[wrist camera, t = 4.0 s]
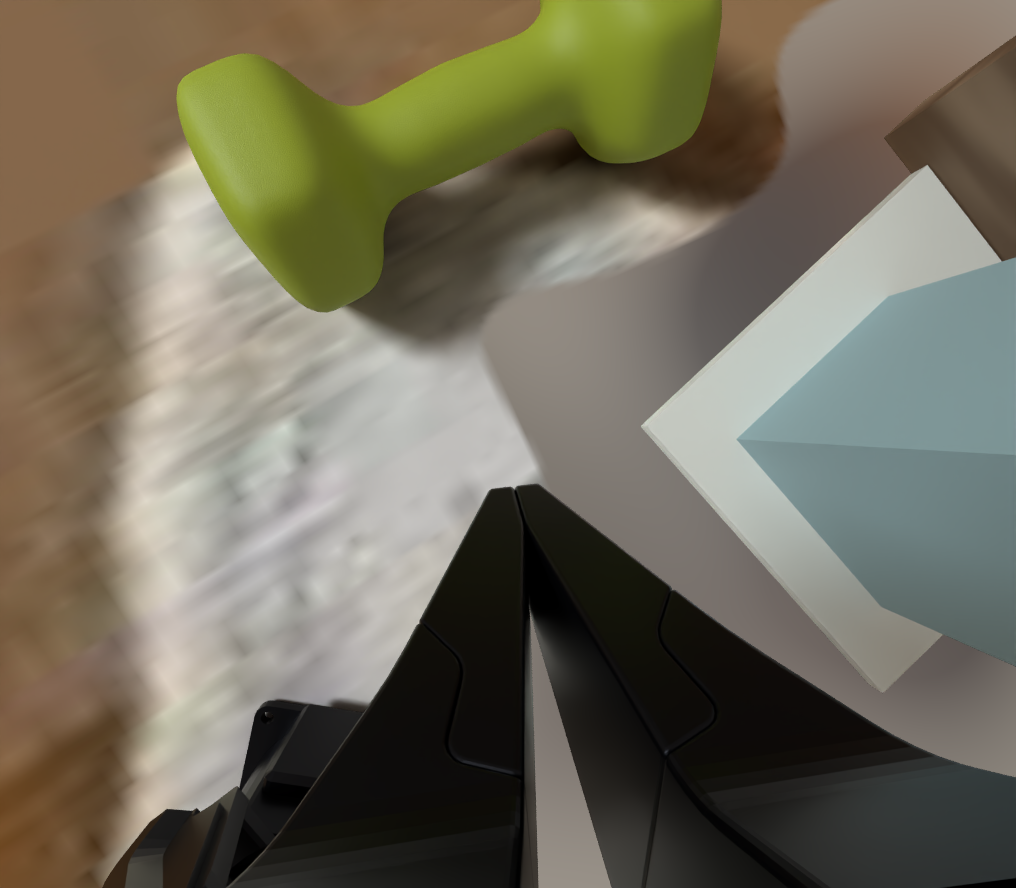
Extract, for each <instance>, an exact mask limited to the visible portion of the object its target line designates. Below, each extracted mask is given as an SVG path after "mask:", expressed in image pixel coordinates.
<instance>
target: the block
mask: <svg viewBox="0 0 1016 888" xmlns="http://www.w3.org/2000/svg"><path fill="white" fill-rule="evenodd" d="M736 440H737V441H738V442H739V443H740V444H741V445H742V446H743V448H744V449H745V450H746V451H747V452H748V453H749V455H750V456H751V457H752V458H753V459H754V460H755V461H756V463H757V464H758V465H759V466H760V467H761V468H762V470H763V471H764V472H765V473H766V474H767V475H768V477H769V478H770V479H771V480H772V481H773V482H774V483H775V485H776V486H777V487H778V488H779V489H780V490H781V492H782V493H783V494H784V495H785V496H786V497H787V498H788V500H789V501H790V502H791V503H792V504H793V505H794V507H795V508H796V509H797V510H798V511H799V512H800V514H801V515H802V516H803V517H804V518H805V519H806V520H807V522H808V523H809V524H810V525H811V526H812V527H813V529H814V530H815V531H816V532H817V533H818V534H819V536H820V537H821V538H822V539H823V540H824V541H825V542H826V544H827V545H828V546H829V547H830V548H831V549H832V551H833V552H834V553H835V554H836V555H837V556H838V557H839V559H840V560H841V561H842V562H843V563H844V564H845V566H846V567H847V568H848V569H849V570H850V571H851V573H852V574H853V575H854V576H855V577H856V578H857V579H858V581H859V582H860V583H861V584H862V585H863V586H864V588H865V589H866V590H867V591H868V592H869V593H870V594H871V596H872V597H873V598H874V599H875V600H876V601H877V603H878V604H879V605H880V606H881V607H882V608H885V609H887V610H889V611H891V612H894V613H896V614H898V615H900V616H903V617H905V618H907V619H909V620H912V621H914V622H916V623H919V624H921V625H923V626H925V627H928V628H930V629H932V630H934V631H937V632H939V633H941V634H943V635H946V636H948V637H950V638H952V639H955V640H957V641H959V642H961V643H964V644H966V645H968V646H970V647H973V648H975V649H977V650H979V651H982V652H984V653H986V654H988V655H991V656H993V657H995V658H998V659H1000V660H1002V661H1005V662H1007V663H1009V664H1011V665H1013V666H1016V257H1015V258H1012V259H1009V260H1006V261H1002V262H999V263H996V264H992V265H989V266H986V267H983V268H979V269H976V270H973V271H969V272H966V273H963V274H960V275H956V276H953V277H950V278H947V279H943V280H940V281H937V282H933V283H930V284H927V285H924V286H920V287H917V288H914V289H910V290H907V291H904V292H901V293H897V294H894V295H891V296H888V297H887V298H886V299H885V300H884V301H883V302H882V303H880V304H879V305H878V306H877V307H876V308H875V309H874V310H873V311H872V312H871V313H870V314H869V315H868V316H867V317H866V318H865V319H863V320H862V321H861V322H860V323H859V324H858V325H857V326H856V327H855V328H854V329H853V330H852V331H851V332H850V333H849V334H848V335H846V336H845V337H844V338H843V339H842V340H841V341H840V342H839V343H838V344H837V345H836V346H835V347H834V348H833V349H832V350H831V351H829V352H828V353H827V354H826V355H825V356H824V357H823V358H822V359H821V360H820V361H819V362H818V363H817V364H816V365H815V366H814V367H812V368H811V369H810V370H809V371H808V372H807V373H806V374H805V375H804V376H803V377H802V378H801V379H800V380H799V381H798V382H797V383H795V384H794V385H793V386H792V387H791V388H790V389H789V390H788V391H787V392H786V393H785V394H784V395H783V396H782V397H781V398H780V399H778V400H777V401H776V402H775V403H774V404H773V405H772V406H771V407H770V408H769V409H768V410H767V411H766V412H765V413H764V414H763V415H761V416H760V417H759V418H758V419H757V420H756V421H755V422H754V423H753V424H752V425H751V426H750V427H749V428H748V429H747V430H746V431H744V432H743V433H742V434H741V435H740V436H739V437H738V438H737V439H736Z"/></svg>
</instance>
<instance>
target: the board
mask: <svg viewBox="0 0 1016 888" xmlns="http://www.w3.org/2000/svg"><path fill="white" fill-rule="evenodd" d="M884 139H885V140H886V141H887V143H888V144H889V145H890V146H891V147H892V149H893V150H894V152H895V153H896V154H897V155H898V157H899V158H900V159H901V161H902V162H903V163H904V165H905V166H906V167H907V168H908V170H909V171H910V172H911V174H912V173H914V172H916V171H918V170H919V169H921V168H923V167H925V166H927V165H928V166H929V168H930V169H931V170H932V172H933V173H934V174H935V176H936V177H937V178H938V179H939V181H940V182H941V183H942V185H943V186H944V187H945V189H946V190H947V191H948V192H949V194H950V195H951V196H952V198H953V199H954V200H955V201H956V203H957V204H958V205H959V207H960V208H961V209H962V211H963V212H964V213H965V214H966V216H967V217H968V218H969V220H970V221H971V222H972V224H973V225H974V226H975V227H976V229H977V230H978V231H979V233H980V234H981V235H982V236H983V238H984V239H985V240H986V242H987V243H988V244H989V246H990V247H991V248H992V249H993V251H994V252H995V253H996V255H997V256H998V257H999V259H1000V260H1001V261H1006V260H1009V259H1012V258H1015V257H1016V36H1015V37H1013V38H1012V39H1010V40H1009V41H1008V42H1006V43H1005V44H1003V45H1002V46H1000V47H999V48H998V49H996V50H995V51H994V52H992V53H991V54H989V55H988V56H987V57H985V58H984V59H982V60H981V61H979V62H978V63H977V64H975V65H974V66H972V67H971V68H970V69H968V70H967V71H965V72H964V73H962V74H961V75H960V76H958V77H957V78H956V79H954V80H953V81H951V82H950V83H948V84H947V85H946V86H944V87H943V88H941V89H940V90H939V91H937V92H936V93H934V94H933V95H932V96H930V97H929V98H927V99H926V100H925V101H923V102H922V103H921V104H920V105H919V106H918V107H917V108H916V109H915V110H914V111H913V112H911V113H910V114H909V115H908V116H907V117H906V118H905V119H904V120H903V121H902V122H901V123H900V124H899V125H897V126H896V127H895V128H894V129H893V130H892V131H891V132H890V133H889V134H888V135H887V136H886V137H885V138H884Z"/></svg>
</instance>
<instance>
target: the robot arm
mask: <svg viewBox="0 0 1016 888" xmlns="http://www.w3.org/2000/svg"><path fill="white" fill-rule="evenodd" d="M529 608H530V609H529ZM530 613H531V617H532V621H533V625H534V629H535V632H536V635H537V639H538V642H539V645H540V649H541V652H542V655H543V659H544V662H545V666H546V669H547V672H548V676H549V679H550V682H551V685H552V689H553V692H554V696H555V699H556V702H557V706H558V709H559V712H560V716H561V719H562V723H563V726H564V729H565V732H566V736H567V739H568V743H569V746H570V749H571V753H572V756H573V760H574V763H575V766H576V770H577V773H578V776H579V780H580V783H581V786H582V790H583V793H584V796H585V800H586V803H587V807H588V810H589V813H590V817H591V820H592V823H593V827H594V830H595V833H596V837H597V840H598V843H599V847H600V850H601V853H602V857H603V860H604V863H605V867H606V870H607V874H608V877H609V880H610V884H611V887H612V888H1016V777H1012V776H1007V775H1003V774H999V773H995V772H991V771H986V770H982V769H978V768H974V767H971V766H966V765H963V764H960V763H957V762H954V761H951V760H948V759H945V758H942V757H939V756H936V755H934V754H932V753H930V752H927V751H925V750H923V749H920V748H918V747H916V746H914V745H912V744H910V743H908V742H906V741H904V740H902V739H900V738H898V737H896V736H894V735H892V734H891V733H889V732H887V731H886V730H884V729H882V728H881V727H879V726H877V725H876V724H874V723H872V722H871V721H869V720H868V719H866V718H864V717H863V716H861V715H860V714H858V713H856V712H855V711H853V710H852V709H850V708H849V707H847V706H846V705H844V704H843V703H841V702H839V701H838V700H836V699H835V698H833V697H831V696H830V695H828V694H827V693H825V692H824V691H822V690H821V689H819V688H817V687H816V686H814V685H813V684H811V683H810V682H808V681H807V680H805V679H803V678H802V677H800V676H799V675H797V674H795V673H794V672H792V671H791V670H789V669H788V668H786V667H785V666H783V665H781V664H780V663H778V662H777V661H775V660H774V659H772V658H771V657H769V656H767V655H766V654H764V653H763V652H761V651H760V650H758V649H757V648H755V647H754V646H752V645H751V644H749V643H748V642H746V641H745V640H743V639H742V638H740V637H739V636H737V635H736V634H734V633H733V632H731V631H730V630H728V629H727V628H726V627H724V626H723V625H721V624H720V623H718V622H717V621H716V620H715V619H713V618H712V617H711V616H709V615H708V614H707V613H705V612H704V611H702V610H701V609H700V608H698V607H697V606H696V605H694V604H693V603H692V602H690V601H689V600H688V599H687V598H685V597H684V596H682V595H681V594H680V593H679V592H678V591H676V590H672V588H671V586H669V585H668V584H667V583H666V582H664V581H663V580H662V579H660V578H659V577H658V576H657V575H655V574H654V573H653V572H651V571H650V570H649V569H648V568H646V567H645V566H644V565H642V564H641V563H640V562H638V561H637V560H636V559H635V558H633V557H632V556H631V555H629V554H628V553H627V552H626V551H624V550H623V549H622V548H621V547H619V546H618V545H617V544H615V543H614V542H613V541H612V540H610V539H609V538H608V537H606V536H605V535H604V534H603V533H601V532H600V531H599V530H597V529H596V528H595V527H593V526H592V525H591V524H590V523H588V522H587V521H586V520H585V519H583V518H582V517H581V516H579V515H578V514H577V513H576V512H574V511H573V510H572V509H570V508H569V507H568V506H566V505H565V504H564V503H563V502H561V501H560V500H559V499H558V498H556V497H555V496H554V495H552V494H551V493H550V492H549V491H547V490H546V489H545V488H543V487H542V486H541V485H539V484H529V485H521V486H517V487H516V488H515V490H514V489H513V488H512V487H503V488H495V489H491V490H489V492H488V493H487V495H486V497H485V499H484V501H483V503H482V505H481V507H480V508H479V510H478V512H477V514H476V516H475V518H474V520H473V521H472V523H471V525H470V527H469V529H468V531H467V533H466V535H465V536H464V538H463V540H462V542H461V544H460V546H459V548H458V550H457V551H456V553H455V555H454V557H453V559H452V561H451V563H450V564H449V566H448V568H447V570H446V572H445V574H444V576H443V578H442V579H441V581H440V583H439V585H438V587H437V589H436V591H435V593H434V594H433V596H432V598H431V600H430V602H429V604H428V606H427V608H426V609H425V611H424V613H423V615H422V617H421V619H420V621H419V623H420V624H418V625H417V626H416V628H415V629H414V631H413V633H412V635H411V637H410V639H409V641H408V643H407V645H406V646H405V648H404V650H403V651H402V653H401V655H400V657H399V658H398V660H397V662H396V664H395V665H394V667H393V669H392V670H391V672H390V674H389V676H388V677H387V679H386V680H385V682H384V683H383V685H382V686H381V688H380V689H379V691H378V692H377V694H376V695H375V697H374V698H373V700H372V701H371V703H370V704H369V706H368V707H367V709H366V710H365V712H364V713H360V712H354V711H348V710H342V709H336V708H330V707H324V706H318V705H312V704H311V705H308V706H303V705H297V704H291V703H285V702H279V701H267V702H265V703H263V704H262V705H261V706H260V708H259V709H258V710H257V712H256V714H255V717H254V722H253V726H252V731H251V736H250V740H249V745H248V750H247V755H246V759H245V764H244V769H243V774H242V778H241V783H240V788H239V787H238V786H237V787H235V788H233V789H232V790H231V791H229V792H228V793H227V794H225V795H224V796H223V797H221V798H220V799H219V800H218V801H216V802H215V803H214V804H212V805H211V806H209V807H208V808H206V809H204V810H203V811H201V812H200V811H199V810H198V809H197V808H196V809H195V810H193V811H186V810H173V809H166V810H165V811H164V812H163V813H161V814H160V815H159V816H157V817H156V818H155V819H153V820H152V821H151V822H150V823H149V824H148V825H147V826H146V828H145V829H144V830H143V831H142V833H141V834H140V835H139V836H138V838H137V839H136V840H135V841H134V843H133V844H132V845H131V846H130V847H129V849H128V850H127V851H126V852H125V854H124V855H123V856H122V858H121V859H120V860H119V862H118V863H117V864H116V866H115V867H114V869H113V870H112V871H111V873H110V874H109V876H108V878H107V879H106V881H105V883H104V885H103V888H538V859H537V825H536V792H535V760H534V759H535V758H534V727H533V726H534V725H533V690H532V659H531V658H532V656H531V627H530ZM265 712H270V713H272V714H273V716H274V718H268V717H266V715H265Z"/></svg>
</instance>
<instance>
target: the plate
mask: <svg viewBox="0 0 1016 888" xmlns="http://www.w3.org/2000/svg"><path fill="white" fill-rule="evenodd" d="M999 262H1002V261H1001V260H1000V259H999V257H998V256H997V255H996V253H995V252H994V251H993V249H992V248H991V247H990V246H989V244H988V243H987V242H986V240H985V239H984V238H983V236H982V235H981V234H980V233H979V231H978V230H977V229H976V227H975V226H974V225H973V224H972V222H971V221H970V220H969V218H968V217H967V216H966V214H965V213H964V212H963V211H962V209H961V208H960V207H959V205H958V204H957V203H956V201H955V200H954V199H953V198H952V196H951V195H950V194H949V192H948V191H947V190H946V189H945V187H944V186H943V185H942V183H941V182H940V181H939V179H938V178H937V177H936V176H935V174H934V173H933V172H932V170H931V169H930V168H929V166H928V165H927V166H925V167H923V168H921V169H919V170H918V171H916V172H914V173H912V174H911V175H910V176H908V178H906V179H905V180H904V181H903V182H902V183H901V184H900V185H899V186H898V187H897V188H896V189H894V190H893V191H892V192H891V193H890V194H889V195H888V196H887V197H886V198H885V199H884V200H883V201H882V202H881V203H879V204H878V205H877V206H876V207H875V208H874V209H873V210H872V211H871V212H870V213H869V214H868V215H867V216H866V217H864V218H863V219H862V220H861V221H860V222H859V223H858V224H857V225H856V226H855V227H854V228H853V229H852V230H851V231H850V232H848V233H847V234H846V235H845V236H844V237H843V238H842V239H841V240H840V241H839V242H838V243H837V244H835V246H833V247H832V248H831V249H830V250H829V251H828V252H827V253H826V254H825V255H824V256H823V257H822V258H820V259H819V260H818V261H817V262H816V263H815V264H814V265H813V266H812V267H811V268H810V269H809V270H808V271H807V272H805V273H804V274H803V275H802V276H801V277H800V278H799V279H798V280H797V281H796V282H795V283H794V284H793V285H792V286H791V287H789V288H788V289H787V290H786V291H785V292H784V293H783V294H782V295H781V296H780V297H779V298H778V299H777V300H775V301H774V302H773V303H772V304H771V305H770V306H769V307H768V308H767V309H766V310H765V311H764V312H763V313H761V314H760V316H758V317H757V318H756V319H755V320H754V321H753V322H752V323H751V324H750V325H749V326H748V327H746V328H745V329H744V330H743V331H742V332H741V333H740V334H739V335H738V336H737V337H736V338H735V339H734V340H733V341H731V342H730V344H728V345H727V346H726V347H725V348H724V349H723V350H722V351H721V352H720V353H719V354H717V355H716V356H715V357H714V358H713V359H712V360H711V361H710V362H709V363H708V364H707V365H706V366H705V367H704V368H702V369H701V370H700V371H699V372H698V373H697V374H696V375H695V376H694V377H693V378H692V379H691V380H690V381H689V382H687V383H686V384H685V385H684V386H683V387H682V388H681V389H680V390H679V391H678V392H677V393H676V394H675V395H674V396H672V397H671V398H670V399H669V400H668V401H667V402H666V403H665V404H664V405H663V406H662V407H661V408H660V409H658V410H657V411H656V412H655V413H654V414H653V415H652V416H651V417H650V418H649V419H648V420H647V421H646V422H645V423H644V424H643V425H641V427H642V429H643V430H644V431H645V432H646V433H647V434H648V435H649V436H650V437H651V439H652V440H653V441H654V442H655V443H656V444H657V445H658V447H659V448H660V449H661V450H662V451H663V452H664V453H665V455H666V456H667V457H668V458H669V459H670V460H671V461H672V462H673V464H674V465H675V466H676V467H677V468H678V469H679V470H680V471H681V473H682V474H683V475H684V476H685V477H686V478H687V479H688V480H689V482H690V483H691V484H692V485H693V486H694V487H695V488H696V490H697V491H698V492H699V493H700V494H701V495H702V496H703V498H704V499H705V500H706V501H707V502H708V503H709V504H710V505H711V507H712V508H713V509H714V510H715V511H716V512H717V513H718V514H719V516H720V517H721V518H722V519H723V520H724V521H725V522H726V523H727V525H728V526H729V527H730V528H731V529H732V530H733V531H734V533H735V534H736V535H737V536H738V537H739V538H740V539H741V540H742V542H743V543H744V544H745V545H746V546H747V547H748V548H749V550H751V552H752V553H753V554H754V555H755V556H756V557H757V559H758V560H759V561H760V562H761V563H762V564H763V565H764V567H765V568H766V569H767V570H768V571H769V572H770V573H771V574H772V576H773V577H774V578H775V579H776V580H777V581H778V582H779V583H780V584H781V585H782V587H783V588H784V589H785V590H786V591H787V593H788V594H789V595H790V596H791V597H792V598H793V599H794V600H795V602H796V603H797V604H798V605H799V606H800V607H801V608H802V609H803V611H804V612H805V613H806V614H807V615H808V616H809V617H810V619H812V621H813V622H814V623H815V624H816V625H817V626H818V628H819V629H820V630H821V631H822V632H823V633H824V634H825V635H826V636H827V638H828V639H829V640H830V641H831V642H832V643H833V645H834V646H835V647H836V648H837V649H838V650H839V651H840V652H841V653H842V655H843V656H844V657H845V658H846V659H847V660H848V662H850V664H851V665H852V666H853V667H854V668H855V669H856V671H857V672H858V673H859V674H860V675H861V676H862V677H863V678H864V680H865V681H866V682H867V683H868V684H869V685H871V686H872V687H874V688H875V689H877V690H879V691H880V692H881V693H884V692H885V691H886V690H887V689H888V688H889V687H890V686H891V685H892V684H893V683H894V682H895V681H896V680H897V679H898V678H899V677H900V676H901V675H902V674H903V673H904V672H905V671H906V670H907V669H908V668H910V666H912V665H913V663H915V661H917V660H918V659H919V658H920V657H921V656H922V655H923V654H924V653H925V652H926V651H927V650H928V649H929V648H930V647H931V646H932V645H933V644H934V643H935V642H936V641H937V640H938V639H939V638H940V637H941V636H942V635H943V634H941V633H939V632H937V631H934V630H932V629H930V628H928V627H925V626H923V625H921V624H919V623H916V622H914V621H912V620H909V619H907V618H905V617H903V616H900V615H898V614H896V613H894V612H891V611H889V610H887V609H885V608H882V607H881V606H880V605H879V604H878V603H877V601H876V600H875V599H874V598H873V597H872V596H871V594H870V593H869V592H868V591H867V590H866V589H865V588H864V586H863V585H862V584H861V583H860V582H859V581H858V579H857V578H856V577H855V576H854V575H853V574H852V573H851V571H850V570H849V569H848V568H847V567H846V566H845V564H844V563H843V562H842V561H841V560H840V559H839V557H838V556H837V555H836V554H835V553H834V552H833V551H832V549H831V548H830V547H829V546H828V545H827V544H826V542H825V541H824V540H823V539H822V538H821V537H820V536H819V534H818V533H817V532H816V531H815V530H814V529H813V527H812V526H811V525H810V524H809V523H808V522H807V520H806V519H805V518H804V517H803V516H802V515H801V514H800V512H799V511H798V510H797V509H796V508H795V507H794V505H793V504H792V503H791V502H790V501H789V500H788V498H787V497H786V496H785V495H784V494H783V493H782V492H781V490H780V489H779V488H778V487H777V486H776V485H775V483H774V482H773V481H772V480H771V479H770V478H769V477H768V475H767V474H766V473H765V472H764V471H763V470H762V468H761V467H760V466H759V465H758V464H757V463H756V461H755V460H754V459H753V458H752V457H751V456H750V455H749V453H748V452H747V451H746V450H745V449H744V448H743V446H742V445H741V444H740V443H739V442H738V441H737V440H736V439H737V438H738V437H739V436H740V435H741V434H742V433H743V432H744V431H746V430H747V429H748V428H749V427H750V426H751V425H752V424H753V423H754V422H755V421H756V420H757V419H758V418H759V417H760V416H761V415H763V414H764V413H765V412H766V411H767V410H768V409H769V408H770V407H771V406H772V405H773V404H774V403H775V402H776V401H777V400H778V399H780V398H781V397H782V396H783V395H784V394H785V393H786V392H787V391H788V390H789V389H790V388H791V387H792V386H793V385H794V384H795V383H797V382H798V381H799V380H800V379H801V378H802V377H803V376H804V375H805V374H806V373H807V372H808V371H809V370H810V369H811V368H812V367H814V366H815V365H816V364H817V363H818V362H819V361H820V360H821V359H822V358H823V357H824V356H825V355H826V354H827V353H828V352H829V351H831V350H832V349H833V348H834V347H835V346H836V345H837V344H838V343H839V342H840V341H841V340H842V339H843V338H844V337H845V336H846V335H848V334H849V333H850V332H851V331H852V330H853V329H854V328H855V327H856V326H857V325H858V324H859V323H860V322H861V321H862V320H863V319H865V318H866V317H867V316H868V315H869V314H870V313H871V312H872V311H873V310H874V309H875V308H876V307H877V306H878V305H879V304H880V303H882V302H883V301H884V300H885V299H886V298H887V297H888V296H891V295H894V294H897V293H901V292H904V291H907V290H910V289H914V288H917V287H920V286H924V285H927V284H930V283H933V282H937V281H940V280H943V279H947V278H950V277H953V276H956V275H960V274H963V273H966V272H969V271H973V270H976V269H979V268H983V267H986V266H989V265H992V264H996V263H999Z"/></svg>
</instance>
